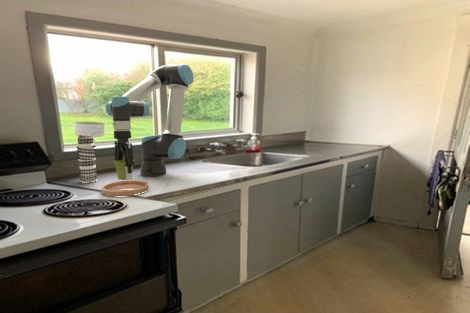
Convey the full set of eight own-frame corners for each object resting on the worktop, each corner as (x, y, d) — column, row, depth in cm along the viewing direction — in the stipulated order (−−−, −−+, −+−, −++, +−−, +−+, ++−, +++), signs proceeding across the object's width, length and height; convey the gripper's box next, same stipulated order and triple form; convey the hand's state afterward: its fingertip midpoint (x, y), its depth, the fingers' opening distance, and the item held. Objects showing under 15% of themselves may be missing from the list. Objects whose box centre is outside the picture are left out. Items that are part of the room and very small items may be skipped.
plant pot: (114, 181, 137) (113, 163, 135) (114, 177, 145) (112, 159, 144) (136, 179, 140) (135, 161, 139) (134, 175, 149) (133, 158, 148)
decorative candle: (90, 178, 168) (87, 133, 164) (102, 180, 164) (98, 134, 160) (75, 182, 160) (71, 135, 156) (87, 184, 156) (83, 135, 152)
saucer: (94, 190, 144) (94, 185, 144) (136, 183, 158) (136, 178, 158) (112, 200, 129) (112, 194, 129) (156, 190, 144) (156, 185, 143)
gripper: (105, 129, 144) (108, 175, 148) (124, 131, 129) (127, 183, 133) (120, 128, 149) (123, 173, 153) (140, 130, 134) (143, 180, 138)
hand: (124, 178), depth 143 cm, fingers closed on plant pot, 8 cm apart
